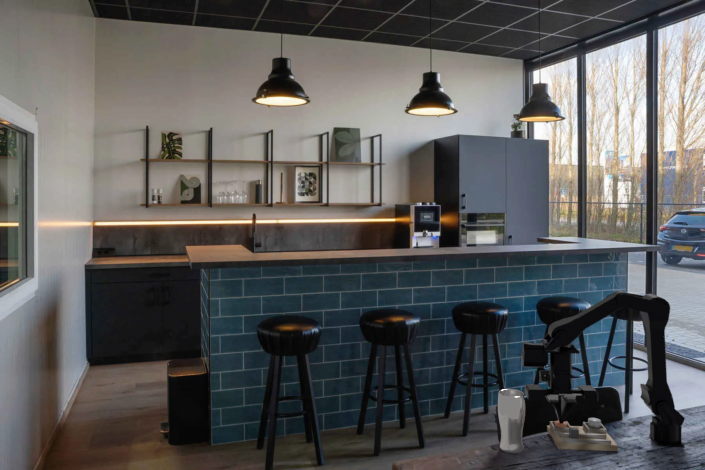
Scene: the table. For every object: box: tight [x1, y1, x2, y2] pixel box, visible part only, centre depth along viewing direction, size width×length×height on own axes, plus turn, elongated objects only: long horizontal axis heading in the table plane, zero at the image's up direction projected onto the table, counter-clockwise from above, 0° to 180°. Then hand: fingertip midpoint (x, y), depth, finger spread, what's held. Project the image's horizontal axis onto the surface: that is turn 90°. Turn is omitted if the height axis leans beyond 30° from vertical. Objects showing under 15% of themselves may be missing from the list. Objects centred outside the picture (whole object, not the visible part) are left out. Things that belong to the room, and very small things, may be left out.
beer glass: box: [497, 388, 526, 454], centre depth 142 cm, size 7×7×15 cm
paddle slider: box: [569, 427, 579, 439], centre depth 143 cm, size 2×2×3 cm
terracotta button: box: [554, 420, 567, 428], centre depth 150 cm, size 3×3×2 cm
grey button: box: [587, 417, 602, 428], centre depth 149 cm, size 3×3×2 cm
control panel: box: [546, 420, 619, 452], centre depth 147 cm, size 15×12×3 cm
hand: (561, 422), depth 150 cm, fingers closed, pressing on terracotta button
